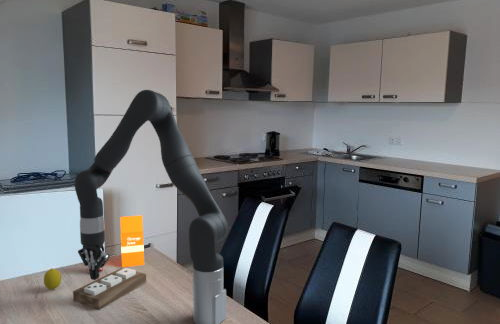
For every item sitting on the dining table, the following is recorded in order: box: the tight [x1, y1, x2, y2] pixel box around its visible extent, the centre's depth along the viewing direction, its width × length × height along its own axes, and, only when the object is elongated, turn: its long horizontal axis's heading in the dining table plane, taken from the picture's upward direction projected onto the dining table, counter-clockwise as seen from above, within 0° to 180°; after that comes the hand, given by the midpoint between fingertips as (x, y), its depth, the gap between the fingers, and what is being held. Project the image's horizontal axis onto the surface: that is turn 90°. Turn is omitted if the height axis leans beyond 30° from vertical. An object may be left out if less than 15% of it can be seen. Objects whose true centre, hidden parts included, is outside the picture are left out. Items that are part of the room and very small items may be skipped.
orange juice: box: [120, 215, 145, 268], centre depth 164 cm, size 8×9×20 cm
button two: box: [100, 275, 122, 287], centre depth 139 cm, size 5×5×3 cm
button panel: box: [72, 267, 147, 311], centre depth 140 cm, size 12×22×4 cm, turn 153°
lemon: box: [43, 268, 62, 291], centre depth 140 cm, size 6×6×8 cm
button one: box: [116, 267, 137, 279], centre depth 146 cm, size 5×5×3 cm
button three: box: [84, 282, 107, 296], centre depth 133 cm, size 5×5×3 cm
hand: (94, 278), depth 133 cm, fingers closed
